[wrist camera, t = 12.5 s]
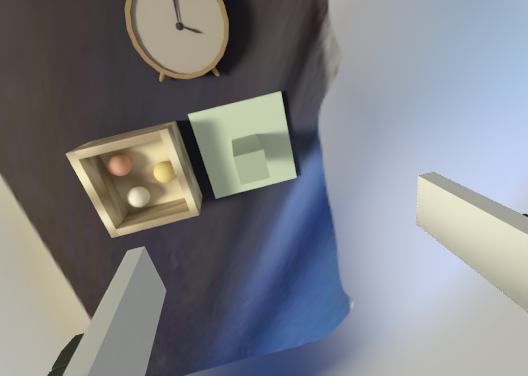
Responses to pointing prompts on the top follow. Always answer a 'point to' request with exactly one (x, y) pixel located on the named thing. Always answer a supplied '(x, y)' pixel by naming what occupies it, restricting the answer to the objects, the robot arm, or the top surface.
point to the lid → (244, 144)
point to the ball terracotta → (119, 164)
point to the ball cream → (138, 196)
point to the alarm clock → (178, 35)
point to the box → (138, 179)
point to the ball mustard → (164, 172)
